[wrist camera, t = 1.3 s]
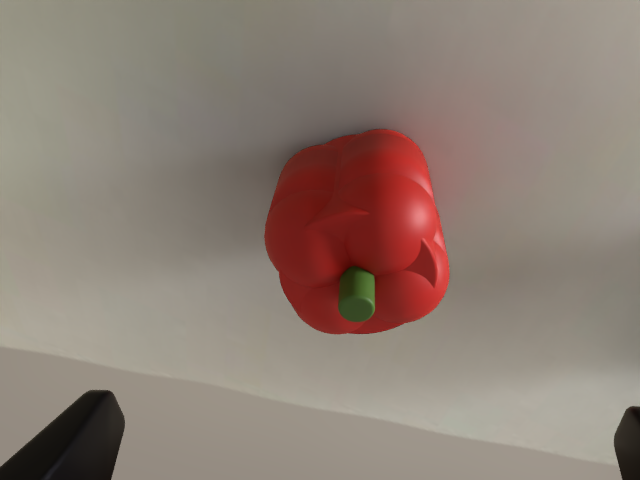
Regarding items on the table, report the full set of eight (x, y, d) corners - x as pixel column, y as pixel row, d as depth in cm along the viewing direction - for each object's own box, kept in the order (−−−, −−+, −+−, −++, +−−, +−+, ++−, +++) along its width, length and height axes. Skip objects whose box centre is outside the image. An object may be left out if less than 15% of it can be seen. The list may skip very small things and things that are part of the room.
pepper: (475, 157, 18) (520, 280, 13) (387, 271, 22) (393, 406, 16) (325, 78, 17) (303, 176, 12) (256, 211, 20) (215, 336, 15)
